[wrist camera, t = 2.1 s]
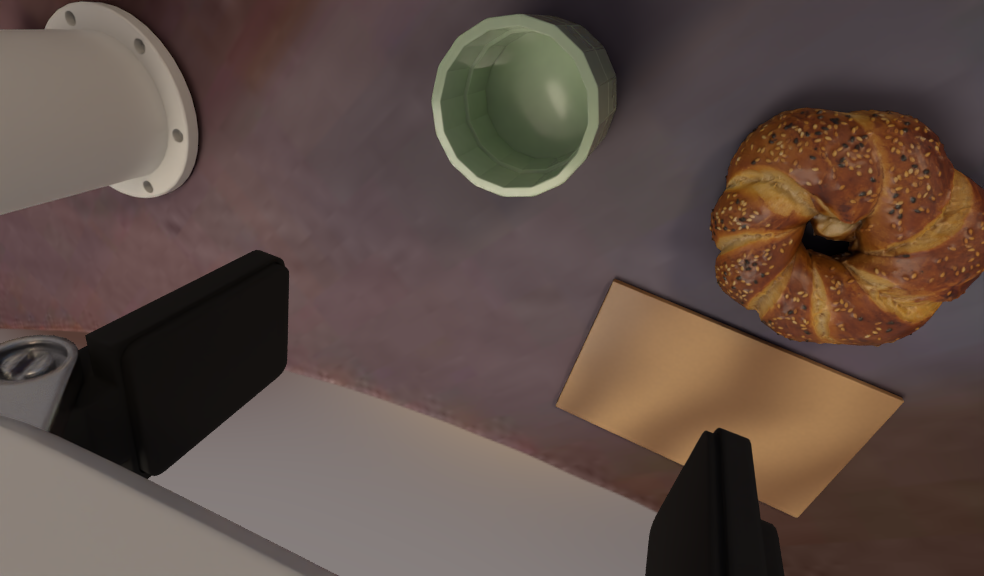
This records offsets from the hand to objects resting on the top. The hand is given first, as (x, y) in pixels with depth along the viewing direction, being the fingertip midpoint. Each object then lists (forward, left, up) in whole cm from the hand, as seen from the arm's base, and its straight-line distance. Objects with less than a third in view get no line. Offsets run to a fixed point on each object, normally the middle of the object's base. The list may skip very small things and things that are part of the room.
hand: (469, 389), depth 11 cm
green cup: (-4, +2, -20) cm, 21 cm away
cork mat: (+11, -11, -20) cm, 25 cm away
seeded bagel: (+11, +1, -20) cm, 23 cm away
